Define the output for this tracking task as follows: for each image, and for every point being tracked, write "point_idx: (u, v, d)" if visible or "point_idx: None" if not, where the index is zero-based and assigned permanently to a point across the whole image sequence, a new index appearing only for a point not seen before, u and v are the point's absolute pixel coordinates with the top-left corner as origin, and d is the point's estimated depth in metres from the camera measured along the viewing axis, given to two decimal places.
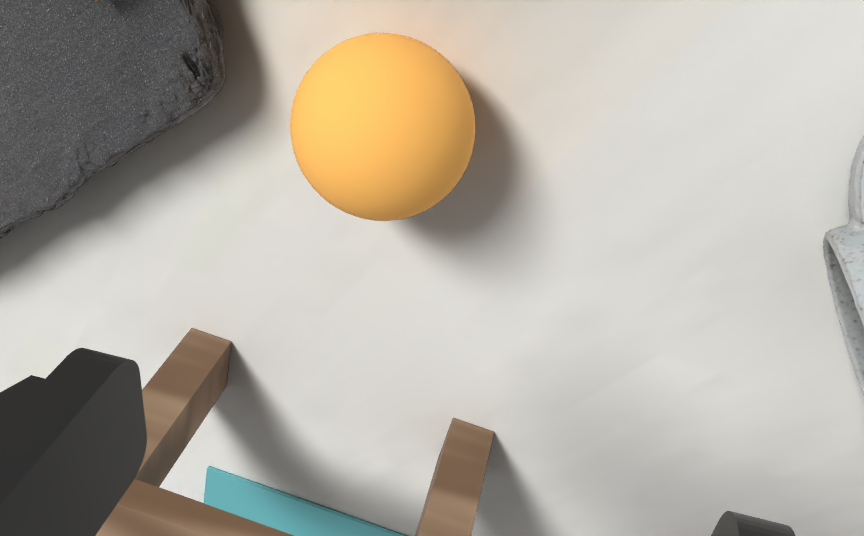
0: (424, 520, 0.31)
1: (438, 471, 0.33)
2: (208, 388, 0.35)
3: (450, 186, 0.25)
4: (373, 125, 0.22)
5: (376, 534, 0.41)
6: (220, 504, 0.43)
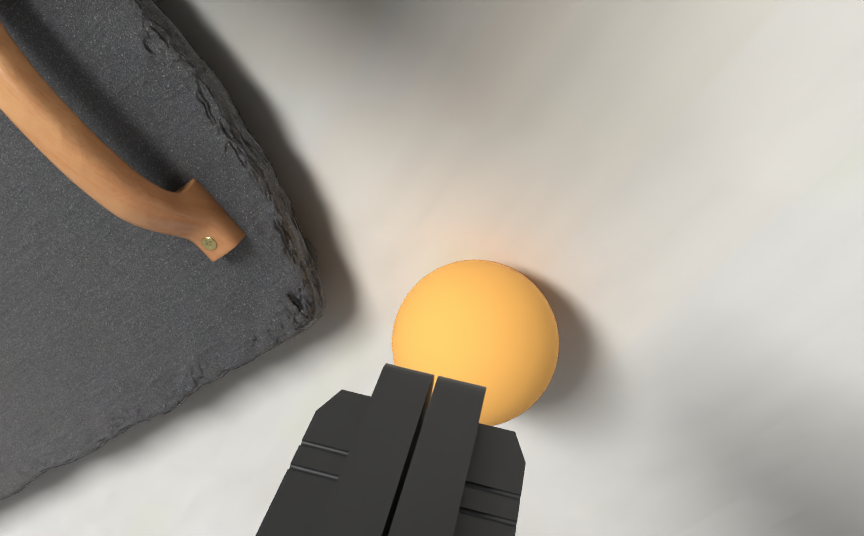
0: None
1: None
2: None
3: (542, 393, 0.27)
4: (473, 362, 0.25)
5: None
6: None
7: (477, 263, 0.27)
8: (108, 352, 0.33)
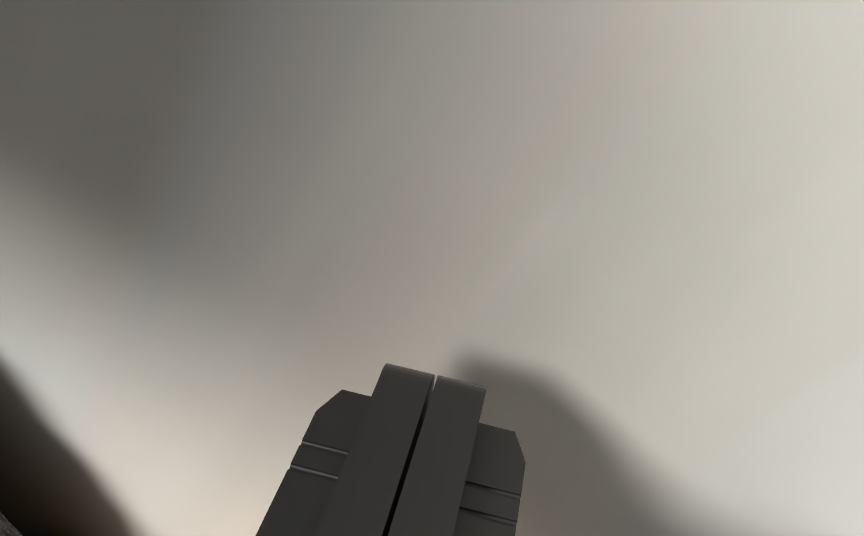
0: None
1: None
2: None
3: None
4: None
5: None
6: None
7: None
8: None
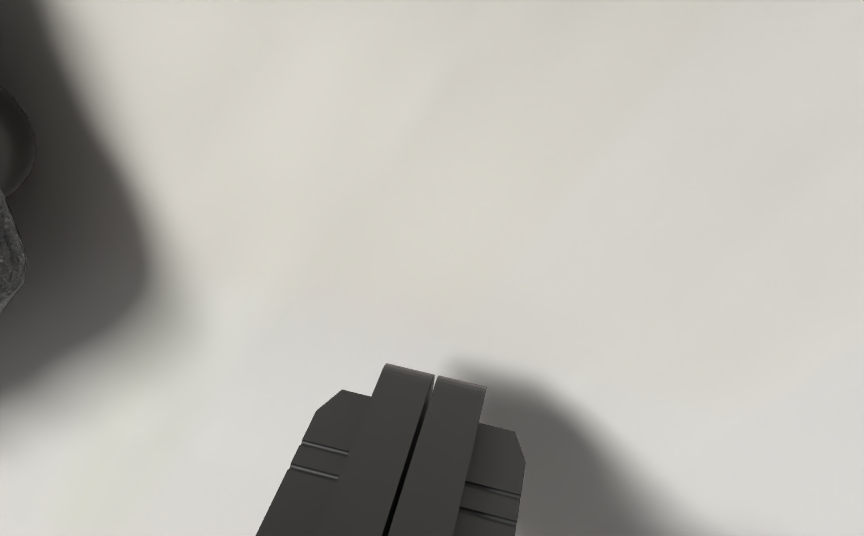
0: None
1: None
2: None
3: None
4: None
5: None
6: None
7: None
8: None
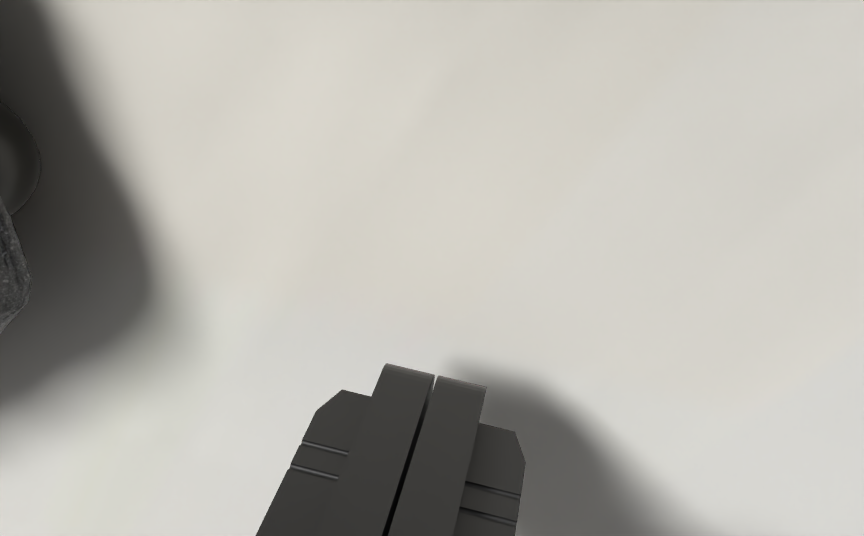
0: None
1: None
2: None
3: None
4: None
5: None
6: None
7: None
8: None
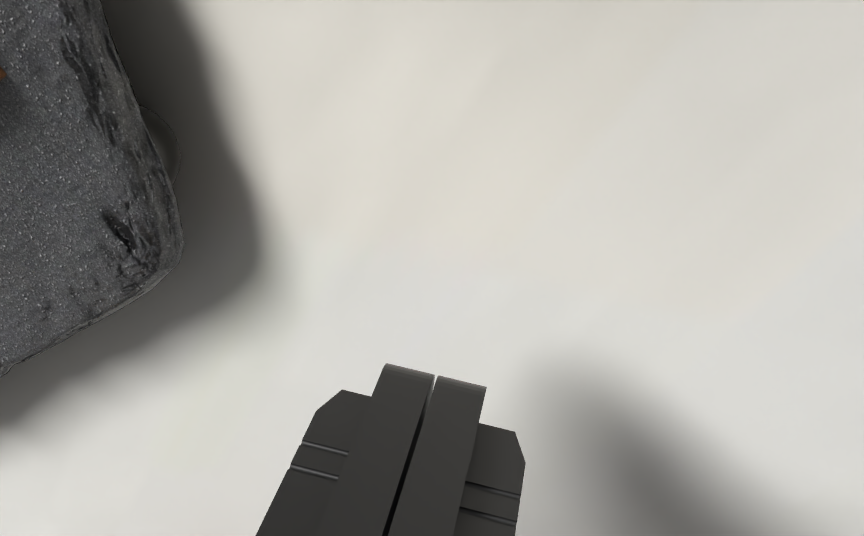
0: None
1: None
2: None
3: None
4: None
5: None
6: None
7: None
8: None
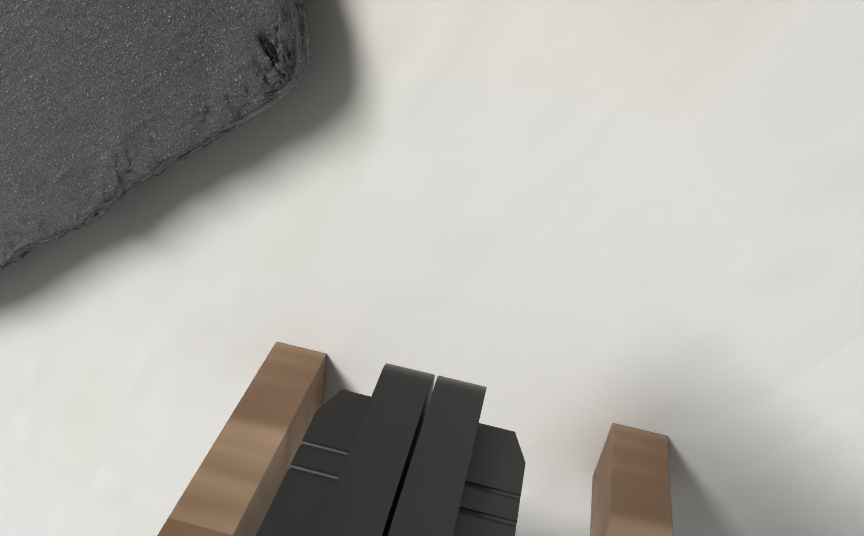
0: None
1: (612, 492, 0.26)
2: (305, 413, 0.28)
3: None
4: None
5: None
6: None
7: None
8: (0, 128, 0.24)
